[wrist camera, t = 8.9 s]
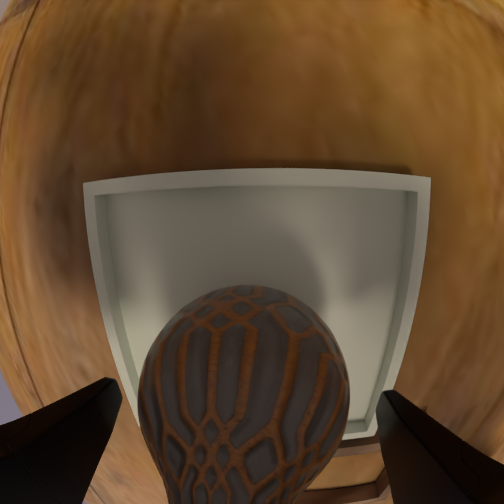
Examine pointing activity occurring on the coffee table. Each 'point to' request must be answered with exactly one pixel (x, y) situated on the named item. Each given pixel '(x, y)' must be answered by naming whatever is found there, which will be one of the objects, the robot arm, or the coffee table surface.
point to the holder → (354, 498)
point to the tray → (264, 258)
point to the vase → (243, 398)
